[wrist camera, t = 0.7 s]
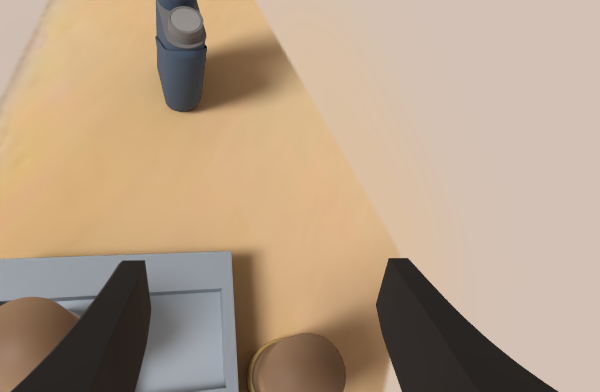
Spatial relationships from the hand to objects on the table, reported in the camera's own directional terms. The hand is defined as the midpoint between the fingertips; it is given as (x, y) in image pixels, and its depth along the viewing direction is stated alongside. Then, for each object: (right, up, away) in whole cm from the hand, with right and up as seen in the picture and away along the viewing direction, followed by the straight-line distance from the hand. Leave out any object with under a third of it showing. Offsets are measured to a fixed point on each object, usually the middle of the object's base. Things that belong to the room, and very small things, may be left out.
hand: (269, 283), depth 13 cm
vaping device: (-8, +11, +20) cm, 25 cm away
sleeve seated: (-12, -6, +11) cm, 17 cm away
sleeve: (0, -9, +14) cm, 17 cm away
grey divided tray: (-10, -6, +13) cm, 17 cm away
